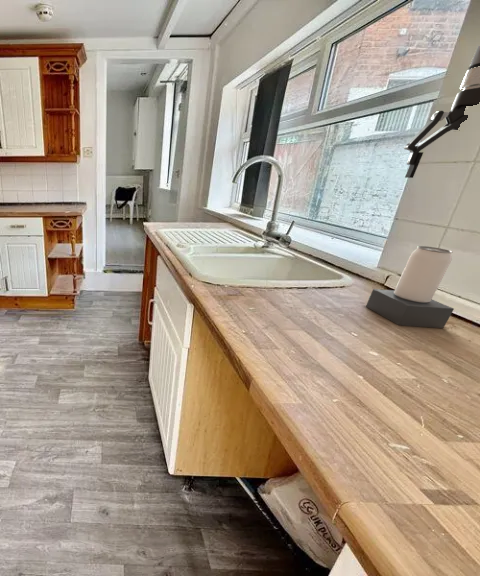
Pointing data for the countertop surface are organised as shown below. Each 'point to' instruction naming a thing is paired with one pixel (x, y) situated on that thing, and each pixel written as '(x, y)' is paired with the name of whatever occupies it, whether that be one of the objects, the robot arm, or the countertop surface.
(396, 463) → the countertop surface
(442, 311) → the grey block
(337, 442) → the countertop surface
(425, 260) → the can
